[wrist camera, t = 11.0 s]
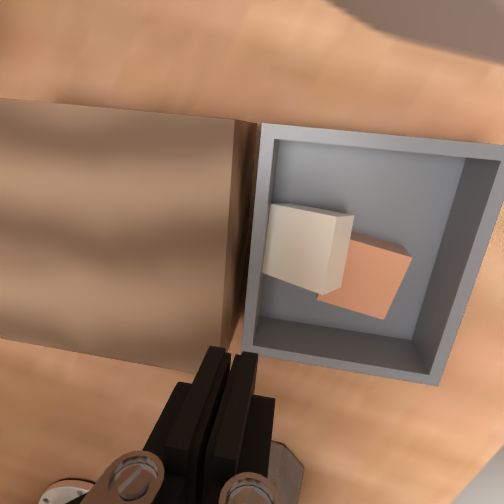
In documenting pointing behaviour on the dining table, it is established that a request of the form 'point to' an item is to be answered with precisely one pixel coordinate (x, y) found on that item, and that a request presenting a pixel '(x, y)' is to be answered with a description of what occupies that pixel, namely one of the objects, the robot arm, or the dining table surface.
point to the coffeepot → (285, 473)
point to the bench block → (122, 230)
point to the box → (381, 227)
